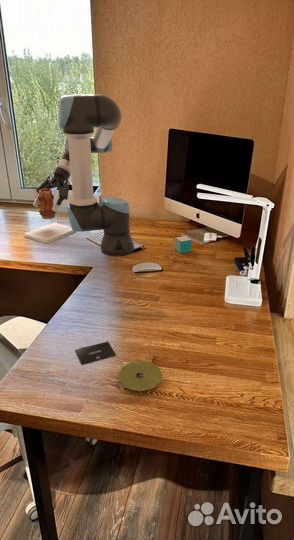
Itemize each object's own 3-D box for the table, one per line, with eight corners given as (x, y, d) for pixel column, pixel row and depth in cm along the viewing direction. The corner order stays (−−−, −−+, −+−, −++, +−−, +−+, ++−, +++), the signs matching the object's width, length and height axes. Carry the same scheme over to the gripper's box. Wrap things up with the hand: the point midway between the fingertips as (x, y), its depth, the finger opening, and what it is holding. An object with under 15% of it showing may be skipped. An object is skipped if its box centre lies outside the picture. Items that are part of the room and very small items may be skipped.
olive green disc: (170, 384, 102) (171, 378, 101) (134, 403, 96) (134, 397, 95) (145, 361, 110) (145, 355, 109) (110, 377, 104) (110, 371, 103)
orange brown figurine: (38, 216, 202) (34, 187, 195) (55, 214, 204) (51, 185, 198) (43, 225, 189) (39, 194, 183) (60, 223, 192) (57, 192, 185)
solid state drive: (116, 356, 113) (116, 354, 112) (81, 366, 109) (81, 364, 109) (108, 343, 118) (107, 341, 118) (75, 351, 115) (74, 349, 114)
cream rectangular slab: (76, 231, 203) (76, 228, 202) (47, 243, 188) (46, 240, 187) (54, 225, 211) (54, 222, 210) (24, 236, 196) (24, 233, 196)
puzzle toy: (180, 253, 177) (180, 241, 175) (174, 249, 182) (174, 237, 179) (191, 251, 179) (192, 239, 177) (185, 247, 184) (185, 235, 181)
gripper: (86, 178, 194) (66, 216, 189) (51, 172, 206) (32, 207, 202) (78, 169, 187) (57, 208, 183) (42, 163, 200) (22, 200, 195)
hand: (44, 208), depth 192 cm, fingers closed on orange brown figurine, 12 cm apart
